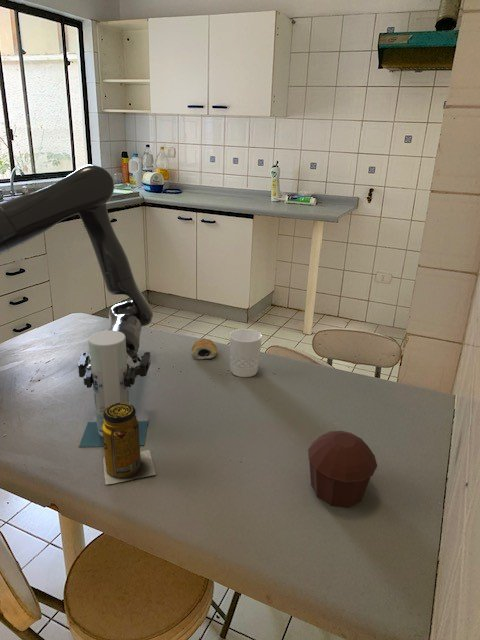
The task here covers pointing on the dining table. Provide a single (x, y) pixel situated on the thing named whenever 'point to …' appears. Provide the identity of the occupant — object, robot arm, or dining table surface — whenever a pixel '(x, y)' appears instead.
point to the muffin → (340, 468)
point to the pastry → (204, 349)
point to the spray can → (108, 371)
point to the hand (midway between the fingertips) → (108, 383)
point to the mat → (96, 440)
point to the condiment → (123, 446)
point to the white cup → (245, 352)
